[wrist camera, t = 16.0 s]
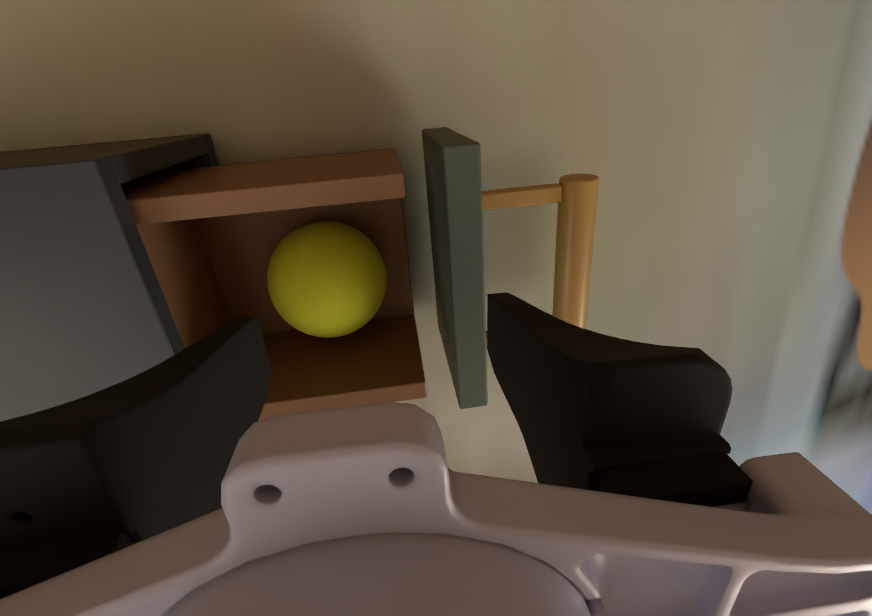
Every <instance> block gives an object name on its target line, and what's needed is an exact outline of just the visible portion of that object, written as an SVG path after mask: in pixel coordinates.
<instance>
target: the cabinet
mask: <svg viewBox="0 0 872 616" xmlns="http://www.w3.org/2000/svg"><path fill="white" fill-rule="evenodd" d="M211 166H219V164H218V161H217V157H216V154H215V150H214V147H213V143H212V140H211V136H210V134H209V133H206V134H195V135H184V136H172V137H161V138H150V139H139V140H128V141H116V142H105V143H94V144H83V145H72V146H61V147H49V148H38V149H27V150H16V151H5V152H0V422H1V421H5V420H8V419H12V418H16V417H20V416H24V415H28V414H31V413H35V412H38V411H42V410H45V409H48V408H52V407H55V406H58V405H61V404H64V403H67V402H70V401H73V400H76V399H79V398H82V397H85V396H87V395H90V394H93V393H95V392H98V391H100V390H103V389H105V388H108V387H110V386H113V385H115V384H118V383H120V382H123V381H125V380H127V379H129V378H131V377H134V376H136V375H138V374H140V373H142V372H144V371H146V370H148V369H150V368H152V367H154V366H156V365H158V364H160V363H161V362H163V361H165V360H167V359H168V358H170V357H172V356H174V355H175V354H177V353H179V352H180V351H182V350H184V349H185V348H184V345H183V343H182V340H181V338H180V335H179V332H178V330H177V327H176V325H175V322H174V320H173V317H172V315H171V312H170V310H169V307H168V305H167V302H166V299H165V297H164V294H163V292H162V289H161V287H160V284H159V282H158V279H157V277H156V274H155V272H154V269H153V266H152V264H151V261H150V259H149V256H148V254H147V251H146V249H145V246H144V244H143V241H142V239H141V236H140V233H139V231H138V228H137V226H136V223H135V221H134V218H133V216H132V213H131V211H130V208H129V205H128V203H127V200H126V198H125V195H124V193H123V190H122V188H124V187H127V186H129V185H132V184H135V183H138V182H140V181H143V180H146V179H149V178H151V177H154V176H157V175H159V174H162V173H165V172H168V171H170V170H180V169H190V168H201V167H211Z"/></svg>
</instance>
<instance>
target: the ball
mask: <svg viewBox="0 0 872 616" xmlns="http://www.w3.org/2000/svg"><path fill="white" fill-rule="evenodd" d="M386 284H387V276H386V269H385V264H384V262H383V259H382V257H381V255H380V253H379V251H378V249H377V248H376V246H375V245H374V244H373V242H372V241H371V240H370V239H369V238H368V237H367V236H365V235H364V234H363V233H361V232H360V231H358V230H357V229H355V228H353V227H351V226H349V225H346V224H343V223H338V222H332V221H319V222H313V223H309V224H306V225H303V226H301V227H299V228H297V229H295V230H294V231H292V232H291V233H289V234H288V235H287V236H286V237H284V238H283V240H282V241H281V242H280V243H279V244H278V246H277V247H276V249H275V250H274V252H273V254H272V256H271V259H270V262H269V265H268V271H267V287H268V291H269V295H270V298H271V301H272V303H273V305H274V307H275V309H276V310H277V312H278V313H279V314H280V316H281V317H282V318H283V319H284V320H285V321H286V322H287V323H288V324H290V325H291V326H293V327H294V328H296V329H297V330H299V331H301V332H303V333H306V334H308V335H312V336H316V337H326V338H329V337H339V336H344V335H347V334H350V333H352V332H354V331H356V330H358V329H360V328H361V327H363V326H364V325H365V324H367V323H368V322H369V321H370V320H371V319H372V318H373V316H374V315H375V314H376V313H377V311H378V310H379V308H380V306H381V304H382V301H383V299H384V296H385V292H386Z"/></svg>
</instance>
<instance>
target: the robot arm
mask: <svg viewBox="0 0 872 616" xmlns="http://www.w3.org/2000/svg"><path fill="white" fill-rule="evenodd" d="M487 349H488V353H489V357H490V360H491V364H492V367H493V370H494V373H495V375H496V378H497V380H498V382H499V384H500V386H501V388H502V391H503V393H504V395H505V397H506V399H507V401H508V403H509V405H510V407H511V410H512V412H513V414H514V416H515V418H516V420H517V422H518V425H519V427H520V429H521V432H522V434H523V437H524V440H525V443H526V446H527V449H528V452H529V455H530V458H531V461H532V465H533V468H534V471H535V474H536V477H537V481H538V483H533V482H526V481H519V480H512V479H504V478H497V477H490V476H483V475H475V474H468V473H461V472H454V471H452V470H451V469H449V468H448V465H447V460H446V455H445V449H444V444H443V438H442V434H441V431H440V429H439V427H438V424H437V422H436V419H435V417H434V416H433V415H431V414H429V413H428V412H426V411H425V410H423V409H422V408H420V407H418V406H417V405H414V404H404V403H394V402H387V403H378V404H369V405H360V406H351V407H343V408H334V409H325V410H316V411H307V412H299V413H290V414H281V415H276V416H273V417H270V418H267V419H264V420H261V421H258V420H259V417H260V415H261V412H262V409H263V407H264V404H265V401H266V398H267V394H268V390H269V385H270V380H271V374H272V369H271V365H270V362H269V358H268V354H267V350H266V346H265V343H264V339H263V335H262V331H261V327H260V323H259V320H258V316H251V317H241V318H236V319H233V320H231V321H229V322H228V323H226V324H224V325H222V326H221V327H219V328H218V329H216V330H214V331H213V332H211V333H210V334H208V335H206V336H205V337H203V338H202V339H200V340H199V341H197V342H195V343H194V344H192V345H191V346H189V347H187V348H186V349H184V350H182V351H180V352H179V353H177V354H175V355H174V356H172V357H170V358H168V359H167V360H165V361H163V362H161V363H160V364H158V365H156V366H154V367H152V368H150V369H148V370H146V371H144V372H142V373H140V374H138V375H136V376H134V377H131V378H129V379H127V380H125V381H123V382H120V383H118V384H115V385H113V386H110V387H108V388H105V389H103V390H100V391H98V392H95V393H93V394H90V395H87V396H85V397H82V398H79V399H76V400H73V401H70V402H67V403H64V404H61V405H58V406H55V407H52V408H48V409H45V410H42V411H38V412H35V413H31V414H28V415H24V416H20V417H16V418H12V419H8V420H5V421H1V422H0V616H872V515H871V514H870V513H869V512H868V511H866V510H865V509H864V508H863V507H862V506H861V505H859V504H858V503H857V502H856V501H855V500H853V499H852V498H851V497H850V496H849V495H848V494H846V493H845V492H844V491H843V490H842V489H841V488H839V487H838V486H837V485H836V484H835V483H834V482H832V481H831V480H830V479H829V478H828V477H827V476H825V475H824V474H823V473H822V472H821V471H820V470H818V469H817V468H816V467H815V466H814V465H813V464H811V463H810V462H809V461H808V460H807V459H806V458H804V457H803V456H802V455H801V454H800V453H797V452H792V453H785V454H777V455H770V456H762V457H755V458H752V459H748V460H746V461H745V462H744V463H742V464H741V465H740V466H738V465H737V464H736V463H735V462H734V461H733V460H732V459H731V458H730V457H729V456H728V455H727V454H729V453H730V451H731V447H730V444H729V443H728V442H727V441H726V440H725V439H724V438H723V437H722V436H721V435H720V433H721V429H722V426H723V423H724V420H725V417H726V414H727V411H728V407H729V404H730V400H731V394H732V385H731V379H730V377H729V375H728V374H727V372H726V370H725V369H724V368H723V367H722V366H720V365H719V364H718V363H717V362H715V361H714V360H713V359H712V358H710V357H709V356H708V355H707V354H706V353H704V352H703V351H702V350H701V349H699V348H686V347H673V346H661V345H654V344H647V343H640V342H634V341H629V340H624V339H619V338H615V337H611V336H607V335H603V334H599V333H596V332H593V331H590V330H587V329H584V328H581V327H578V326H575V325H573V324H570V323H568V322H565V321H563V320H561V319H559V318H556V317H554V316H552V315H550V314H548V313H546V312H544V311H542V310H540V309H538V308H536V307H534V306H532V305H530V304H529V303H527V302H525V301H523V300H521V299H519V298H517V297H516V296H514V295H511V294H509V293H495V294H488V309H487Z"/></svg>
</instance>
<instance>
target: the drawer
mask: <svg viewBox="0 0 872 616" xmlns="http://www.w3.org/2000/svg"><path fill="white" fill-rule="evenodd" d="M422 138H423V150H424V162H425V173H426V185H427V197H428V209H429V221H430V233H431V244H432V256H433V268H434V280H435V292H436V304H437V315H438V326H439V330H440V334H441V338H442V342H443V346H444V350H445V353H446V357H447V361H448V365H449V369H450V373H451V376H452V380H453V384H454V388H455V392H456V396H457V399H458V403H459V407H460V409H464V408H471V407H479V406H486V405H487V404H488V397H487V362H486V349H487V331H486V328H485V293H484V259H483V224H482V210H489V209H499V208H508V207H518V206H527V205H536V204H546V203H555V202H558V214H557V234H556V255H555V275H554V295H553V315H552V316H554V317H556V318H559V319H561V320H563V321H565V322H568V323H570V324H573V325H575V326H578V327H581V328H584V329H585V328H586V317H587V306H588V295H589V284H590V272H591V261H592V250H593V239H594V228H595V216H596V205H597V194H598V183H599V178H598V176H596V175H592V174H570V175H565V176H562V177H560V179H559V184H557V183H555V184H545V185H535V186H526V187H516V188H506V189H497V190H487V191H482V190H481V155H480V144H479V143H478V142H476V141H474V140H472V139H470V138H467V137H465V136H463V135H461V134H459V133H457V132H455V131H453V130H451V129H449V128H446V127H444V128H433V129H423V130H422ZM122 190H123V193H124V195H125V198H126V200H127V203H128V205H129V208H130V211H131V213H132V216H133V218H134V221H135V223H136V226H137V228H138V231H139V233H140V236H141V239H142V241H143V244H144V246H145V249H146V251H147V254H148V256H149V259H150V261H151V264H152V266H153V269H154V272H155V274H156V277H157V279H158V282H159V284H160V287H161V289H162V292H163V294H164V297H165V299H166V302H167V305H168V307H169V310H170V312H171V315H172V317H173V320H174V322H175V325H176V327H177V330H178V332H179V335H180V338H181V340H182V343H183V345H184V348H185V349H186V348H187V347H189V346H191V345H192V344H194V343H195V342H197V341H199V340H200V339H202V338H203V337H205V336H206V335H208V334H210V333H211V332H213V331H214V330H216V329H218V328H219V327H221V326H222V325H224V324H226V323H228V322H229V321H231V320H233V319H236V318H241V317H251V316H258V320H259V323H260V327H261V331H262V335H263V339H264V343H265V346H266V350H267V354H268V358H269V362H270V365H271V369H272V374H271V380H270V385H269V390H268V394H267V398H266V401H265V404H264V407H263V409H262V412H261V415H260V417H259V420H264V419H267V418H270V417H273V416H276V415H281V414H290V413H299V412H307V411H316V410H325V409H334V408H343V407H351V406H360V405H369V404H378V403H387V402H396V401H403V400H410V399H417V398H425V397H427V393H426V383H425V377H424V371H423V365H422V359H421V352H420V346H419V340H418V334H417V328H416V322H415V316H414V307H413V298H412V289H411V280H410V271H409V262H408V253H407V244H406V235H405V226H404V218H403V209H402V200H401V198H404V197H405V187H404V177H403V172H402V169H401V166H400V163H399V160H398V156H397V153H396V150H395V149H391V150H380V151H369V152H359V153H348V154H338V155H327V156H317V157H306V158H296V159H285V160H275V161H264V162H253V163H243V164H232V165H222V166H211V167H201V168H190V169H180V170H170V171H168V172H165V173H162V174H159V175H157V176H154V177H151V178H149V179H146V180H143V181H140V182H138V183H135V184H132V185H129V186H127V187H124V188H122ZM319 221H332V222H338V223H343V224H346V225H349V226H351V227H353V228H355V229H357V230H358V231H360V232H361V233H363V234H364V235H365V236H367V237H368V238H369V239H370V240H371V241H372V242H373V244H374V245H375V246H376V248H377V249H378V251H379V253H380V255H381V257H382V259H383V262H384V264H385V269H386V276H387V284H386V292H385V296H384V299H383V301H382V304H381V306H380V308H379V310H378V311H377V313H376V314H375V315H374V316H373V318H372V319H371V320H370V321H369V322H368V323H367V324H365V325H364V326H363V327H361V328H360V329H358V330H356V331H354V332H352V333H350V334H347V335H344V336H339V337H329V338H326V337H316V336H312V335H308V334H306V333H303V332H301V331H299V330H297V329H296V328H294V327H293V326H291V325H290V324H288V323H287V322H286V321H285V320H284V319H283V318H282V317H281V316H280V314H279V313H278V312H277V310H276V309H275V307H274V305H273V303H272V301H271V298H270V295H269V291H268V287H267V271H268V265H269V262H270V259H271V256H272V254H273V252H274V250H275V249H276V247H277V246H278V244H279V243H280V242H281V241H282V240H283V238H284V237H286V236H287V235H288V234H289V233H291V232H292V231H294V230H295V229H297V228H299V227H301V226H303V225H306V224H309V223H313V222H319Z"/></svg>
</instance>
